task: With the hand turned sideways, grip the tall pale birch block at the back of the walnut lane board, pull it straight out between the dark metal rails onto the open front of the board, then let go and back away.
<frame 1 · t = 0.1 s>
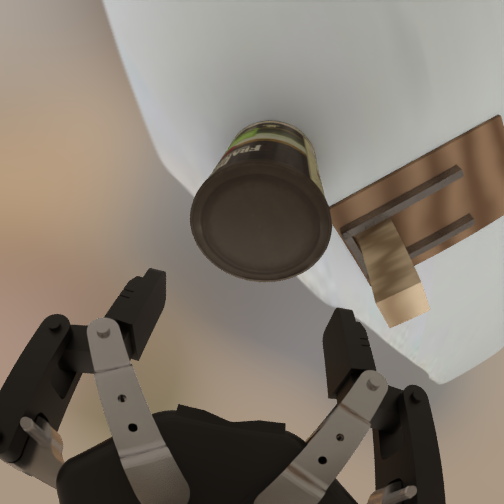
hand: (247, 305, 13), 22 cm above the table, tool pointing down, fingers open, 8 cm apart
lane board: (379, 236, 35), on the table
coffee can: (271, 163, 31), on the table
birch block: (380, 238, 35), point 1 cm above the table, touching lane board
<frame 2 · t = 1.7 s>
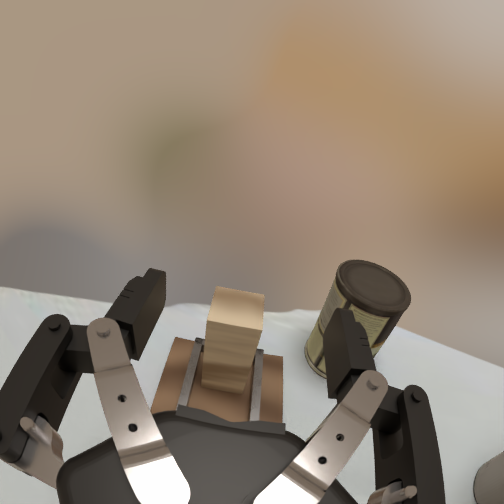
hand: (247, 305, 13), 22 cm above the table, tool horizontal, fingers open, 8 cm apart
lane board: (223, 377, 33), on the table
coffee can: (335, 356, 39), on the table
birch block: (224, 374, 33), point 1 cm above the table, touching lane board
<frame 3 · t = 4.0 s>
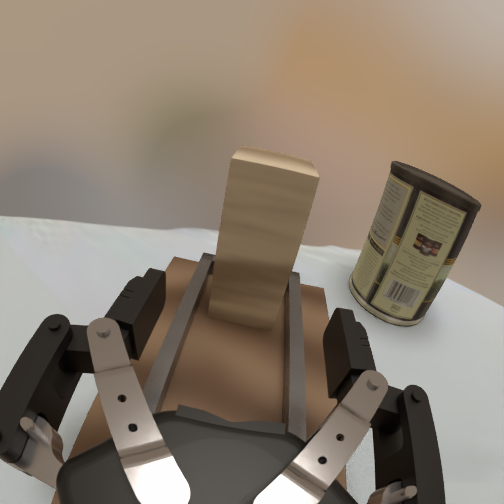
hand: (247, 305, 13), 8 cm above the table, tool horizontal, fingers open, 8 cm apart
lane board: (242, 308, 23), on the table
coffee can: (386, 296, 29), on the table
birch block: (243, 303, 23), point 1 cm above the table, touching lane board
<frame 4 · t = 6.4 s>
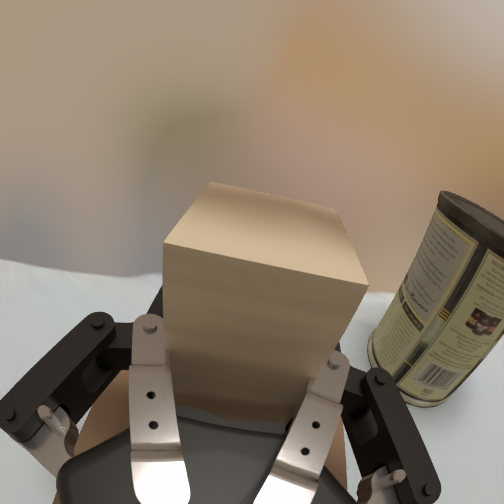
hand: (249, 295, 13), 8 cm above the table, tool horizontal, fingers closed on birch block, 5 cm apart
lane board: (223, 412, 15), on the table
coffee can: (412, 362, 21), on the table
birch block: (224, 408, 15), point 1 cm above the table, touching gripper, lane board
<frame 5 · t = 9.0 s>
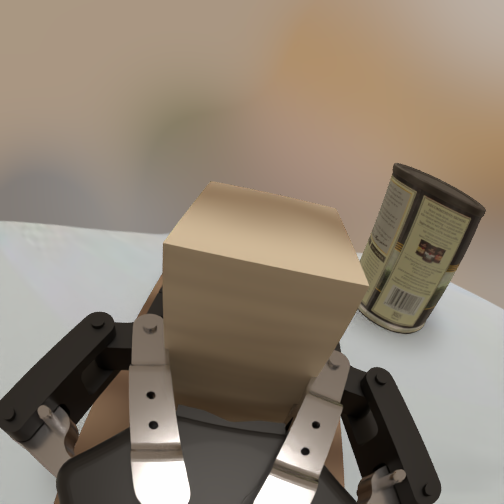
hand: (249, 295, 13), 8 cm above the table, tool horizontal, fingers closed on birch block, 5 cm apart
lane board: (238, 317, 23), on the table
coffee can: (387, 302, 29), on the table
birch block: (224, 407, 15), point 1 cm above the table, touching gripper
when the fingers open (8 cm above the table, at t = 11.6 s): birch block stays where it is, resting on lane board.
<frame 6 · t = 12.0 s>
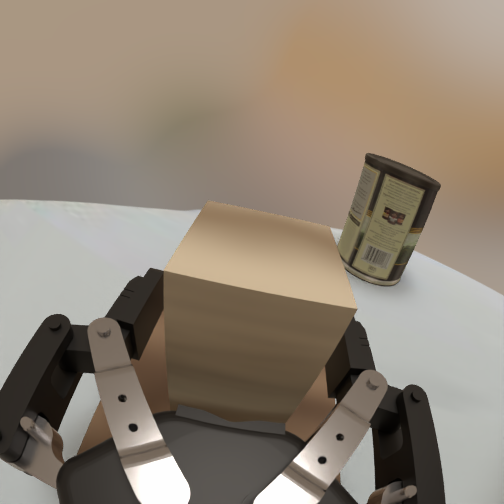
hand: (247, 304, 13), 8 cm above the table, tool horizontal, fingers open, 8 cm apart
lane board: (249, 265, 31), on the table
coffee can: (367, 264, 37), on the table
birch block: (223, 413, 15), point 1 cm above the table, touching lane board
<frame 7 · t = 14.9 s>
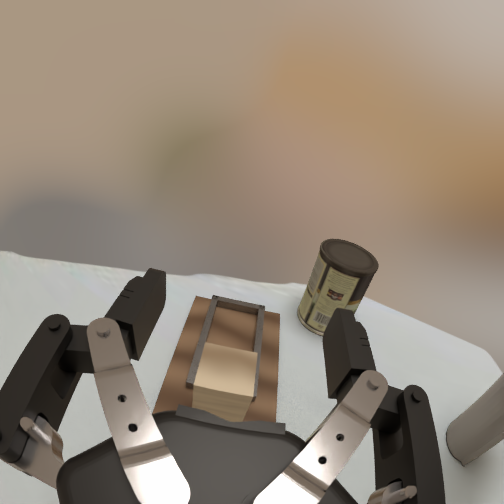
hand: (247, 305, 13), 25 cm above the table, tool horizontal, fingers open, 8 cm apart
lane board: (233, 325, 45), on the table
coffee can: (322, 318, 51), on the table
birch block: (215, 420, 29), point 1 cm above the table, touching lane board
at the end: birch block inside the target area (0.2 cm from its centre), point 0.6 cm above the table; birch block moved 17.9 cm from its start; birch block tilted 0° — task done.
